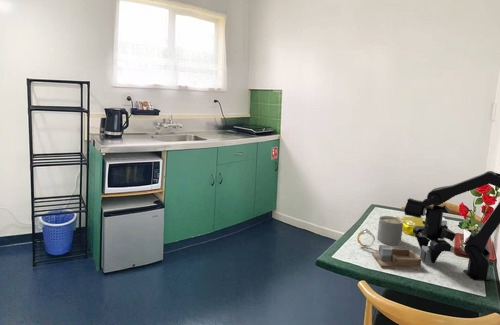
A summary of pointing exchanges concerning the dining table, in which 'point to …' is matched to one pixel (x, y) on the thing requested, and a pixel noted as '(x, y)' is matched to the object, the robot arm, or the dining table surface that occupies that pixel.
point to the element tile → (411, 224)
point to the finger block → (426, 256)
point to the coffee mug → (390, 230)
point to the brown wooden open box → (397, 258)
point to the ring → (364, 233)
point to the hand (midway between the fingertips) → (428, 258)
